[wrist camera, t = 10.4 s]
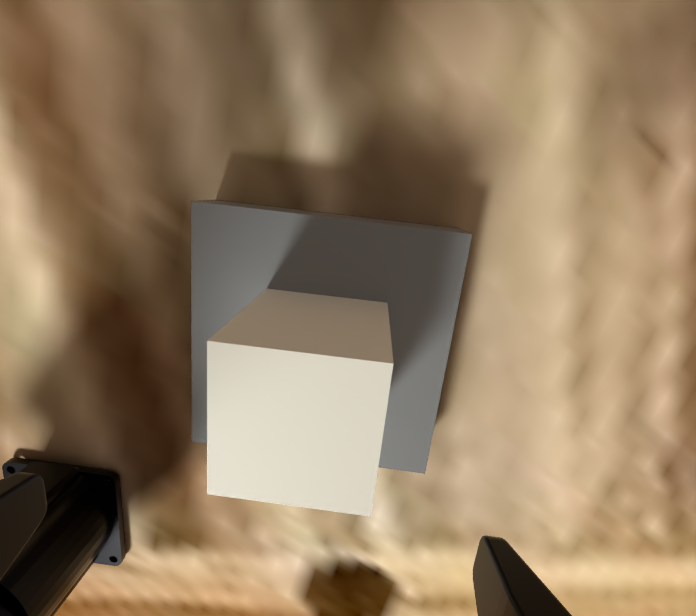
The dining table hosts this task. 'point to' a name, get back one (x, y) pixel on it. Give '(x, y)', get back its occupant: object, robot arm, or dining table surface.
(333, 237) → the grey square slab
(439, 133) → the dining table surface
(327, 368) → the cream block
